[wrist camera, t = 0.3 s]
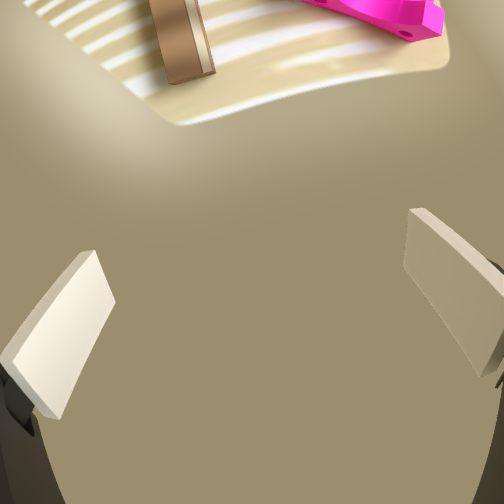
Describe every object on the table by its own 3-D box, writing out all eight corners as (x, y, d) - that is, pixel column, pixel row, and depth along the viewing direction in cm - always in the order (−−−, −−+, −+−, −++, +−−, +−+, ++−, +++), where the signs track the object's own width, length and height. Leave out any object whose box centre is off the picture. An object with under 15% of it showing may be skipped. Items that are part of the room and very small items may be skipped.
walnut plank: (149, -21, 24) (142, -29, 22) (188, -34, 24) (183, -43, 21) (175, 84, 32) (168, 83, 29) (216, 73, 31) (213, 70, 28)
